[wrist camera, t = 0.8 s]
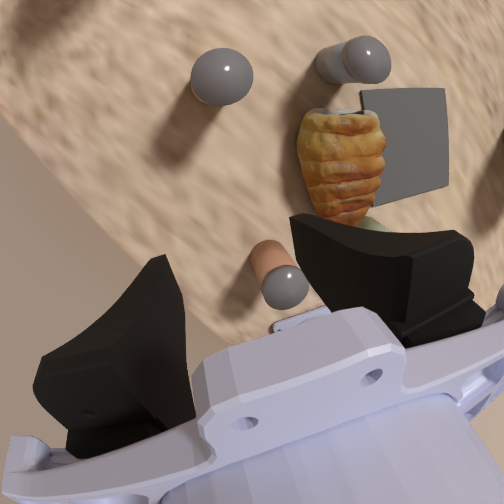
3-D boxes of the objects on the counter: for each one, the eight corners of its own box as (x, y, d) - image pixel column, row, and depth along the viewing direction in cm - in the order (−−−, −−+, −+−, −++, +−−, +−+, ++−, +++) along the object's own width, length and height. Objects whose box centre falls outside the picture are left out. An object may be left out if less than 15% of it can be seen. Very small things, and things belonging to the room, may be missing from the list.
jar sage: (378, 242, 27) (409, 268, 22) (349, 252, 26) (378, 281, 22) (377, 211, 25) (412, 234, 21) (347, 220, 25) (379, 246, 21)
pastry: (370, 214, 25) (394, 232, 22) (298, 227, 24) (315, 249, 21) (369, 105, 20) (397, 109, 17) (287, 109, 20) (306, 111, 16)
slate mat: (447, 184, 26) (448, 185, 25) (372, 205, 25) (373, 206, 25) (443, 88, 21) (444, 88, 21) (360, 90, 20) (361, 90, 20)
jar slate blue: (355, 83, 19) (394, 83, 15) (318, 87, 19) (353, 85, 15) (347, 45, 18) (386, 36, 14) (309, 47, 18) (343, 35, 13)
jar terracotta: (289, 267, 26) (311, 301, 21) (253, 278, 25) (268, 315, 21) (283, 234, 24) (306, 264, 20) (244, 245, 24) (259, 279, 19)
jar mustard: (241, 100, 19) (258, 98, 14) (195, 111, 18) (198, 112, 14) (231, 57, 17) (245, 43, 13) (184, 68, 17) (184, 55, 12)
